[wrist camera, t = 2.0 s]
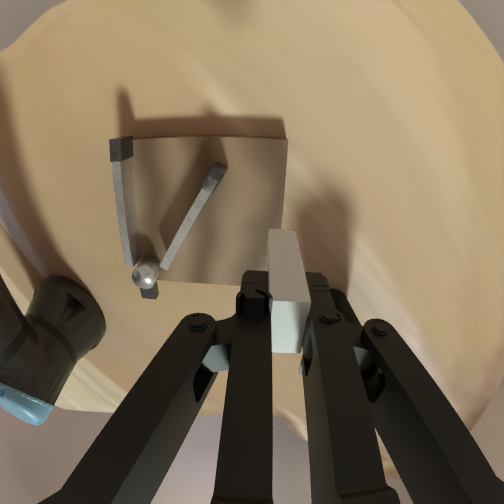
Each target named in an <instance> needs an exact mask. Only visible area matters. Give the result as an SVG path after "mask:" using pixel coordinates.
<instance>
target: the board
mask: <svg viewBox="0 0 504 504" xmlns="http://www.w3.org/2000/svg"><path fill="white" fill-rule="evenodd" d="M287 148H288V140H287V139H286V138H272V137H253V136H166V137H148V138H134V139H133V157H132V167H133V181H134V193H135V204H136V214H137V223H138V231H139V239H140V246H141V253H142V256H141V257H140V259H139V260H138V262H137V266H138V264H139V263H140V261H141V260H142V259H143V258H144V257H146V256H152V257H155V258H156V259H158V260H159V262H160V263H161V262H162V260H163V258H164V256H165V254H166V253H167V251H168V249H169V247H170V245H171V243H172V241H173V239H174V237H175V236H176V234H177V232H178V230H179V228H180V226H181V224H182V223H183V221H184V219H185V217H186V215H187V214H188V212H189V210H190V208H191V207H192V205H193V203H194V201H195V199H196V198H197V196H198V194H199V193H200V191H201V189H202V188H201V185H202V183H203V182H204V180H205V178H206V177H207V175H208V173H209V172H210V170H211V168H212V167H213V165H214V164H215V163H216V162H217V161H218V162H219V163H221V164H223V165H224V166H226V167H228V170H227V172H226V173H225V175H224V176H223V178H222V180H221V181H220V183H219V185H218V186H217V188H216V189H215V191H214V193H213V194H210V196H209V197H208V199H207V201H206V202H205V204H204V206H203V207H202V209H201V211H200V213H199V214H198V216H197V218H196V219H195V221H194V223H193V225H192V226H191V228H190V230H189V232H188V233H187V235H186V237H185V239H184V241H183V242H182V244H181V246H180V248H179V250H178V251H177V253H176V255H175V257H174V259H173V260H172V262H171V264H170V266H169V268H168V270H165V269H163V268H162V271H161V273H160V275H159V277H158V278H157V280H167V281H179V282H192V283H206V284H222V285H238V286H241V281H242V275H243V274H244V273H245V272H246V271H247V270H258V271H266V258H267V244H268V231H269V229H281V224H282V213H283V201H284V189H285V176H286V162H287Z"/></svg>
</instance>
